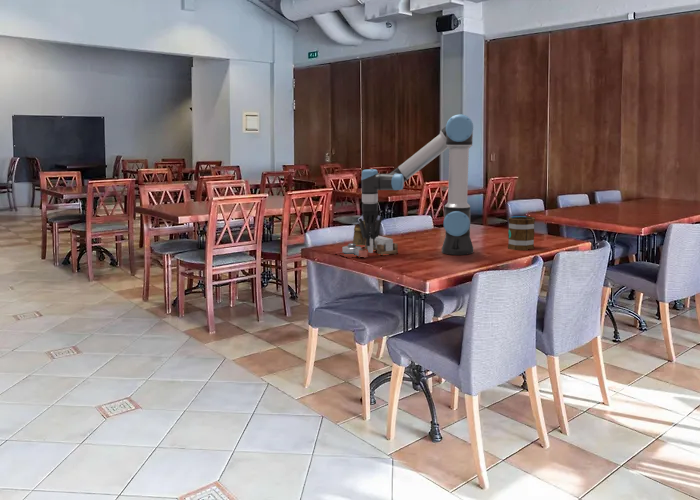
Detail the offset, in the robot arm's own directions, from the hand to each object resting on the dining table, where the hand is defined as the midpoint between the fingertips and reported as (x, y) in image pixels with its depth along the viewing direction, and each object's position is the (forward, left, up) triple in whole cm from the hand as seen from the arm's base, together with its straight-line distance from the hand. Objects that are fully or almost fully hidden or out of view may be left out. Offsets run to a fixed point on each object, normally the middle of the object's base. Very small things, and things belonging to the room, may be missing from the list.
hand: (370, 252), depth 308 cm
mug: (-20, -74, -2) cm, 76 cm away
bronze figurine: (+24, -9, -2) cm, 26 cm away
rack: (+5, -9, -2) cm, 10 cm away
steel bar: (+6, -9, 0) cm, 10 cm away
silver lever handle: (+3, +6, -1) cm, 7 cm away
